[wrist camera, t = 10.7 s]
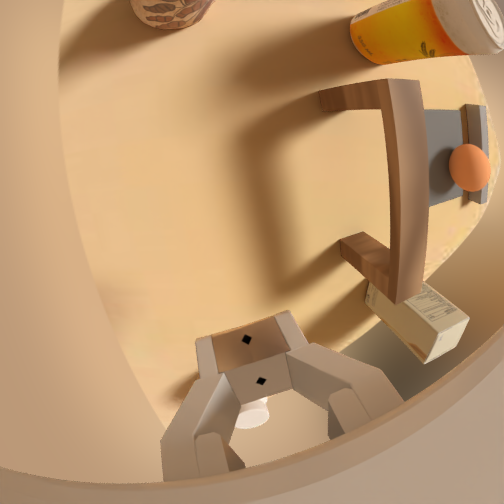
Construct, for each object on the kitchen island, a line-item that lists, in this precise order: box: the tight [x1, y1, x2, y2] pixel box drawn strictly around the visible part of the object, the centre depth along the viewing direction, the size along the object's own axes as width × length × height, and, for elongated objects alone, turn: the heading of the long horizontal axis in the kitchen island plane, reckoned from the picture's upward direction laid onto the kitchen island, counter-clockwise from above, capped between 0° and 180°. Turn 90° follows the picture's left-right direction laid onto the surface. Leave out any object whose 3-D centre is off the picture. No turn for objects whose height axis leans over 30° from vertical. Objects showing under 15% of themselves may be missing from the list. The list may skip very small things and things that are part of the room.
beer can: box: [350, 0, 504, 65], centre depth 13 cm, size 6×6×15 cm
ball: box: [449, 144, 491, 192], centre depth 25 cm, size 6×6×6 cm
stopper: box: [466, 104, 489, 204], centre depth 27 cm, size 14×2×2 cm, turn 13°
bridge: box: [319, 79, 429, 305], centre depth 21 cm, size 3×17×10 cm, turn 13°
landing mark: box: [424, 110, 463, 207], centre depth 27 cm, size 12×12×1 cm
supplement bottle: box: [235, 397, 269, 429], centre depth 29 cm, size 5×5×8 cm
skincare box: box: [365, 281, 470, 364], centre depth 27 cm, size 6×4×12 cm
